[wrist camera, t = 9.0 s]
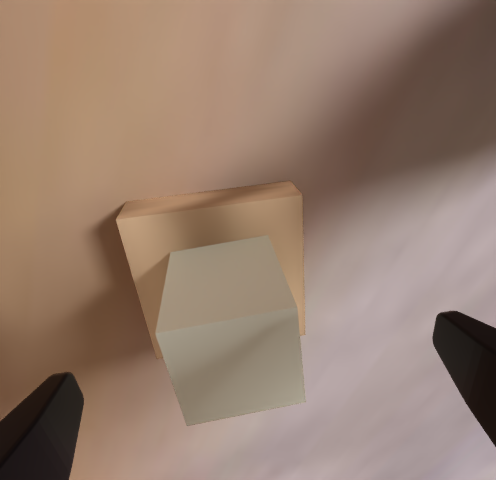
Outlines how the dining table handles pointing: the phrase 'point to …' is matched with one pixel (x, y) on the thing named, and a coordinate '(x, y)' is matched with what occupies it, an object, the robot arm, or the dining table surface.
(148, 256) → the oak block
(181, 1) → the dining table surface
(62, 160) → the dining table surface
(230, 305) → the sage cube
